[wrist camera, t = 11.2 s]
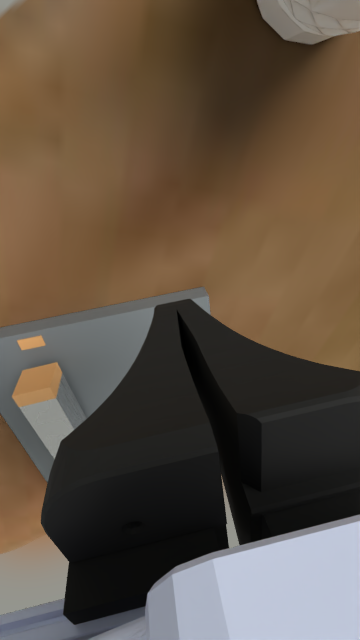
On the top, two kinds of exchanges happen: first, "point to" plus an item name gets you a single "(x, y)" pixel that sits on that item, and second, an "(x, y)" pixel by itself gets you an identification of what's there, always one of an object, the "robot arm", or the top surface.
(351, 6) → the white cup
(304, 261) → the top surface
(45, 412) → the lever
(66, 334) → the plate
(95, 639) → the robot arm
